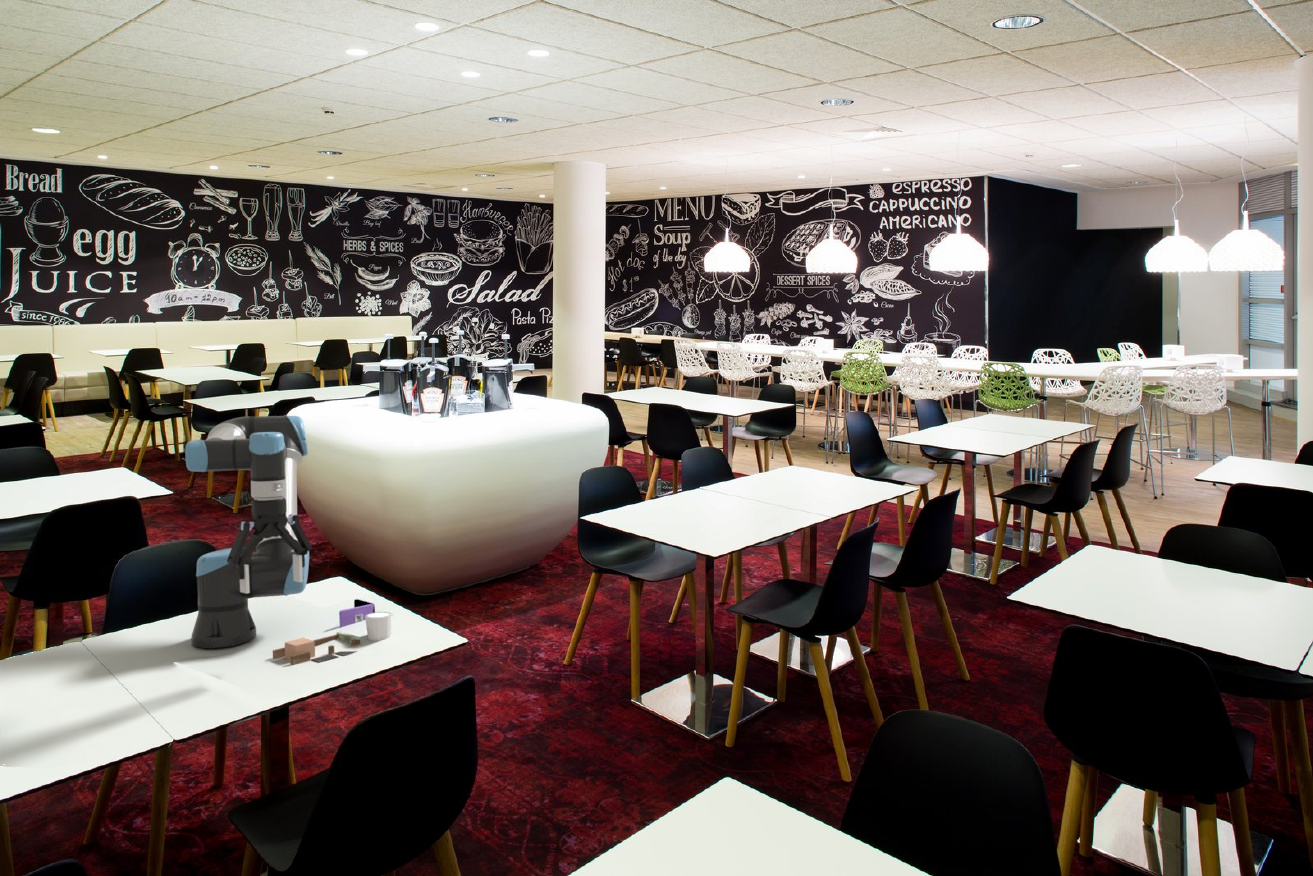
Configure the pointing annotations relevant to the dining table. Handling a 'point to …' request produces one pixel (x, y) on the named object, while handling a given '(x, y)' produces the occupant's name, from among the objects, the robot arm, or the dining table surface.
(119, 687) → the dining table surface
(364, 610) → the miniature room corner
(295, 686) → the dining table surface
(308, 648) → the block
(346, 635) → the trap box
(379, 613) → the white cup
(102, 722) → the dining table surface
